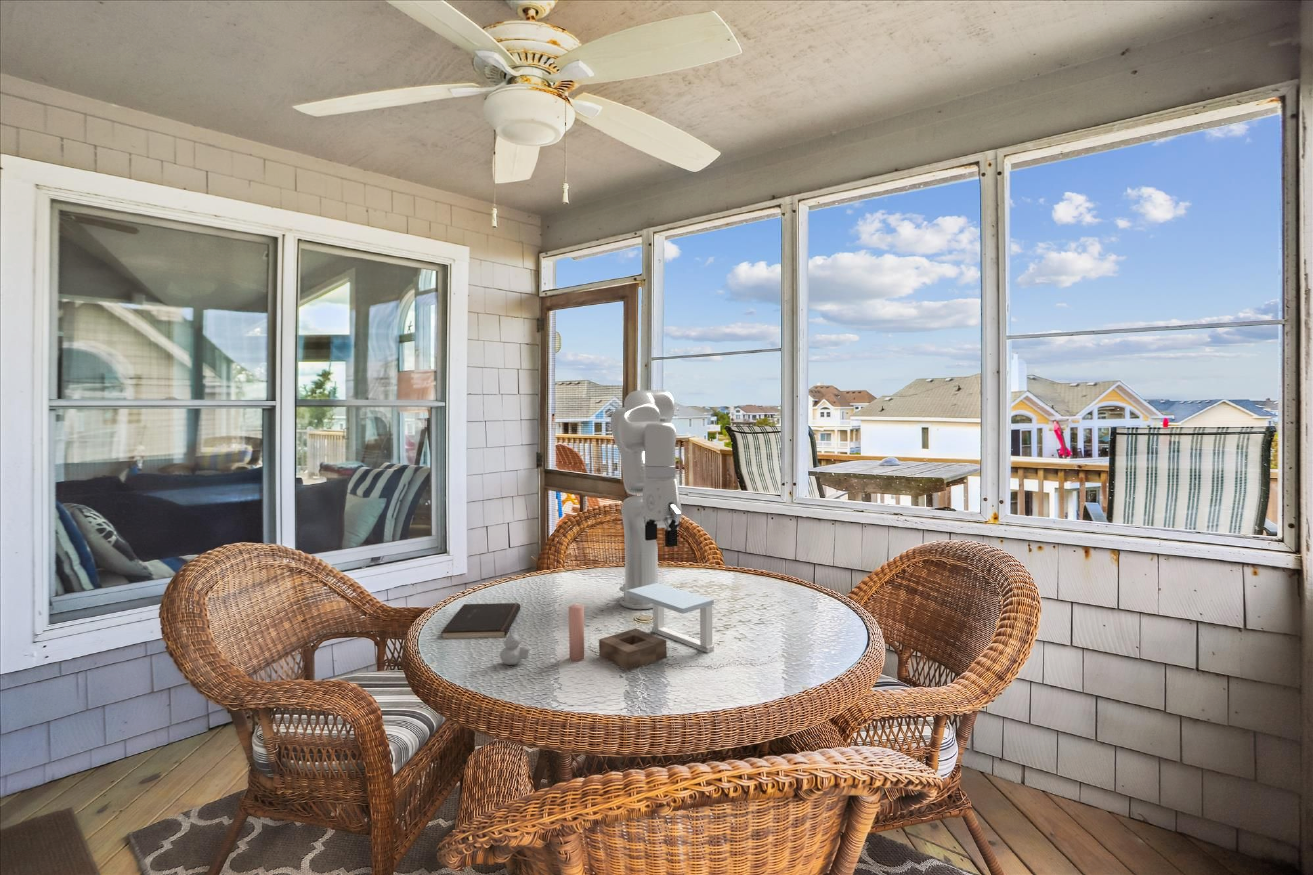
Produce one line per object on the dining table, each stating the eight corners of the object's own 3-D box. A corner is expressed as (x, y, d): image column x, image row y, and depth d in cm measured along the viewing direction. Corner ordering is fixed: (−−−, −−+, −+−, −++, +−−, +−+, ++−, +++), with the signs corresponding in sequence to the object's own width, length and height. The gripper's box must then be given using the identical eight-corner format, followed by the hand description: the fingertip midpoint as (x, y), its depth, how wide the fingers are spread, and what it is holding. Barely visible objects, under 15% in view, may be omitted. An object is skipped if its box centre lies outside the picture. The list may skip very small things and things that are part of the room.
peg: (566, 658, 151) (565, 606, 150) (578, 654, 153) (578, 603, 152) (575, 662, 148) (574, 610, 148) (587, 658, 150) (586, 606, 150)
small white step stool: (627, 638, 163) (627, 590, 162) (657, 629, 170) (657, 582, 169) (683, 661, 148) (682, 608, 147) (713, 650, 155) (713, 599, 154)
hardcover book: (441, 640, 164) (440, 631, 164) (464, 611, 187) (463, 603, 187) (505, 639, 165) (505, 630, 165) (520, 610, 188) (520, 602, 188)
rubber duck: (503, 659, 151) (503, 624, 150) (532, 659, 150) (531, 624, 150) (497, 668, 145) (496, 632, 145) (526, 668, 145) (526, 632, 145)
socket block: (599, 656, 152) (599, 639, 151) (635, 644, 159) (635, 628, 159) (629, 670, 143) (629, 652, 143) (666, 657, 151) (666, 640, 150)
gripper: (630, 471, 166) (631, 539, 166) (664, 476, 151) (665, 550, 151) (656, 470, 169) (656, 536, 170) (692, 474, 154) (693, 547, 155)
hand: (661, 543), depth 160 cm, fingers open, 9 cm apart
